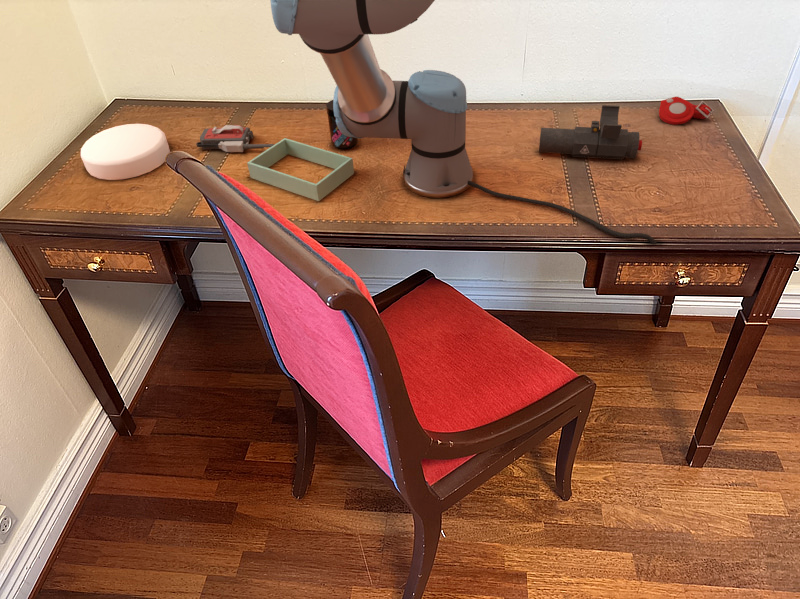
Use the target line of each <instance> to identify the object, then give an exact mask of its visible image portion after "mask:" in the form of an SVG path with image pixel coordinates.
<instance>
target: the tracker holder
mask: <svg viewBox="0 0 800 599" xmlns="http://www.w3.org/2000/svg"><path fill="white" fill-rule="evenodd" d="M714 112H715V110H714V109H713V108H712V107H711V106H710V105H708V104H707V103H706V102H705V101H704V100H701V102H699V103H698V104H693V103H691V102H690V101H688V100H686V99H684V98H682V97H680V96H673V97H669V98H665V99H662V100H660V105H659V109H658V117H659V119H660V120H661V121H662V122H663V123H665V124H669V125H676V126H677V125H682V124H683V125H684V124H685V123H687V122H689V121H690V120H691V119H692V118H693V119H700V120H705V119H708V118H709V117H710V116H711V115H712V114H713V113H714Z"/></svg>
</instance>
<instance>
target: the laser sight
mask: <svg viewBox="0 0 800 599" xmlns="http://www.w3.org/2000/svg"><path fill="white" fill-rule="evenodd" d="M619 112H620V105H611V104H609V105H606V104H602V106H601V111H600V118H599V120H592V121H591V123H590V124H591V125H590V127H589V126H575V127H574V128H558V127H557V128H556V127H541V128H540V135H539V142H538V153H549V154H561V155H563V154H564V155H571V157H573V158H588V159H589V158H590V159H592V158H593V159H606V160H624V159H625V158H627V159H636V158H637V156H638V151H639V152H640V151H642V148H643V140H642V139H640V136H641V135H640V131H629V129H628V128H622V127H623V125H622V124H619V115H620V114H619Z"/></svg>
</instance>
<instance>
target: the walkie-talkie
mask: <svg viewBox="0 0 800 599" xmlns="http://www.w3.org/2000/svg"><path fill="white" fill-rule="evenodd" d="M253 139H254V131H252V130H251V128H250V127H248V126H247V127H243V126H242V125H241V124H226V125H224V126H223V127H217V126H213V127H209V128H204V129H203V130H202V133H200V136H199V141H197V142H196V143H195V144H196V147H197V148H202V149H203V150H221V151H223V152H225V153H243V152H244V151H245V150H252V149H253V150H254V149H255V150H256V149H258V150H259V149H264V148H270V147H272V146H273V145H275V144H274V143H256V144H255V143H254V144H253V143H250V141H251V140H253Z"/></svg>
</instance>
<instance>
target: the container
mask: <svg viewBox="0 0 800 599" xmlns="http://www.w3.org/2000/svg"><path fill="white" fill-rule="evenodd" d="M168 153H170V154H171V150H170V145H169V143H168V139H167V137H166V133H165V132H164V131H163V130H162V129H160V127H157V126H154V125H151V124H147V123H128V124H121V125H116V126H113V127H110V128H107V129H104V130H102V131H99V132H98V133H96V134H93V135H92V136H91V137H90V138H88V139H87V140H86V141H85V142H84V143H83V145H82V146H81V149H80V158H81V160H82V163H83V165H84V168H85V169H86V171H87V172H88V174H89V175H90V176H91V177H94V178H97V179H99V180H108V181H117V180H118V181H119V180H127V179H131V178H136V177H140V176H142V175H145V174H148V173H150V172H152V171H153V170H155V169H157V168H159V167H160V166H161V165H163V164H164V163H165V162H166V161H165V157H166V155H167V154H168Z"/></svg>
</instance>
